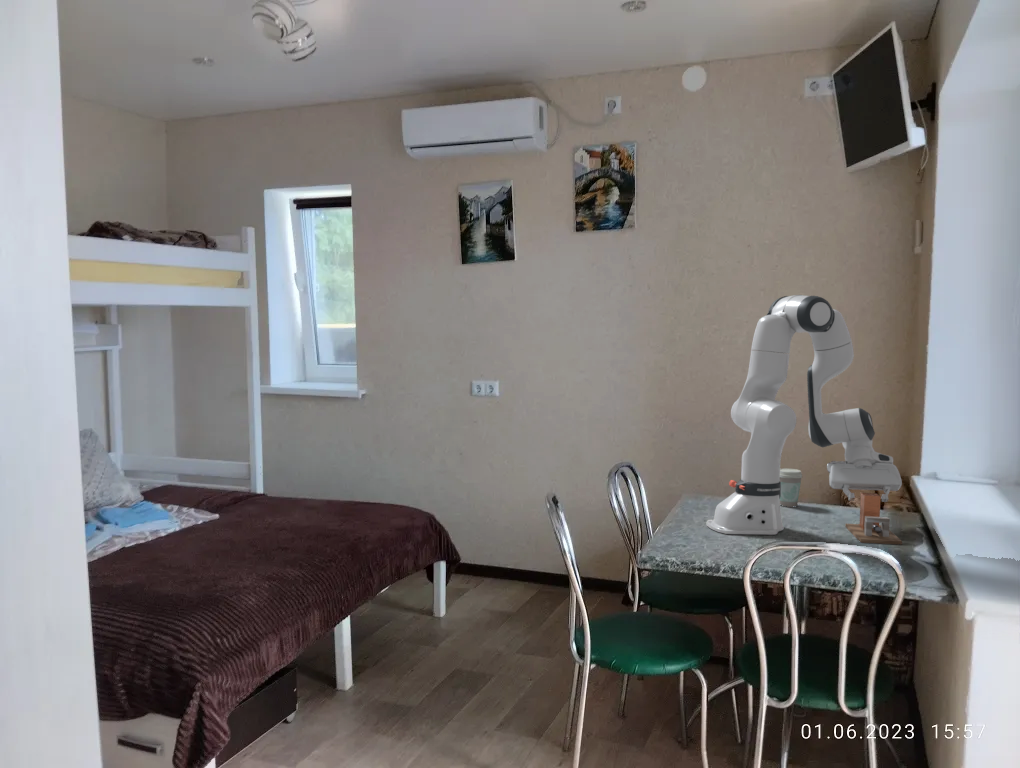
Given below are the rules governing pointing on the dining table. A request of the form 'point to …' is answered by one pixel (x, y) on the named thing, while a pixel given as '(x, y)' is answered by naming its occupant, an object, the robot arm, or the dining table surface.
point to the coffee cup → (790, 486)
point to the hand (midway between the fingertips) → (868, 500)
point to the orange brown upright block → (870, 509)
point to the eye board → (871, 535)
